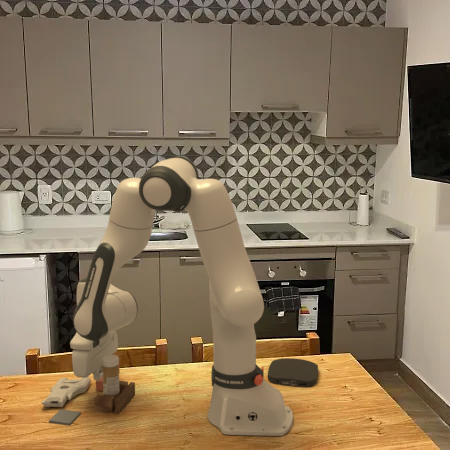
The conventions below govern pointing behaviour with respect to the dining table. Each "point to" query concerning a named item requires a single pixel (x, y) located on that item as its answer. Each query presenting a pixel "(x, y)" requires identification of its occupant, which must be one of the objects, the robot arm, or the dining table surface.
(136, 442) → the dining table surface
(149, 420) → the dining table surface
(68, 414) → the pad
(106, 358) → the sprinkles bottle
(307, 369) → the media streaming box
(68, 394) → the gun
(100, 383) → the salmon red bar
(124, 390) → the brown u-shaped channel
